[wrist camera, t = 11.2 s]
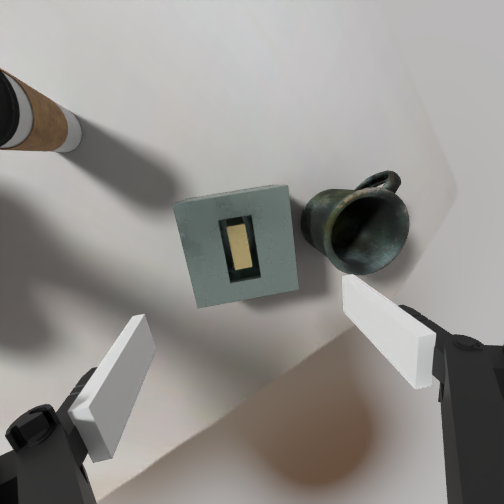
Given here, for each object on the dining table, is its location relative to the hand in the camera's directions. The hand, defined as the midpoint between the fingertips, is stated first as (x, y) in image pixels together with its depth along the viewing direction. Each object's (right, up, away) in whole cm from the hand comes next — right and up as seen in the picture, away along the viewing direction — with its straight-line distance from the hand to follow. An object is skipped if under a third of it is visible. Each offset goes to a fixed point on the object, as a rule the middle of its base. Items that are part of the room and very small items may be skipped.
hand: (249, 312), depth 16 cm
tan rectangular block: (-2, +7, +24) cm, 25 cm away
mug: (+14, +11, +25) cm, 31 cm away
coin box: (-2, +7, +24) cm, 25 cm away
